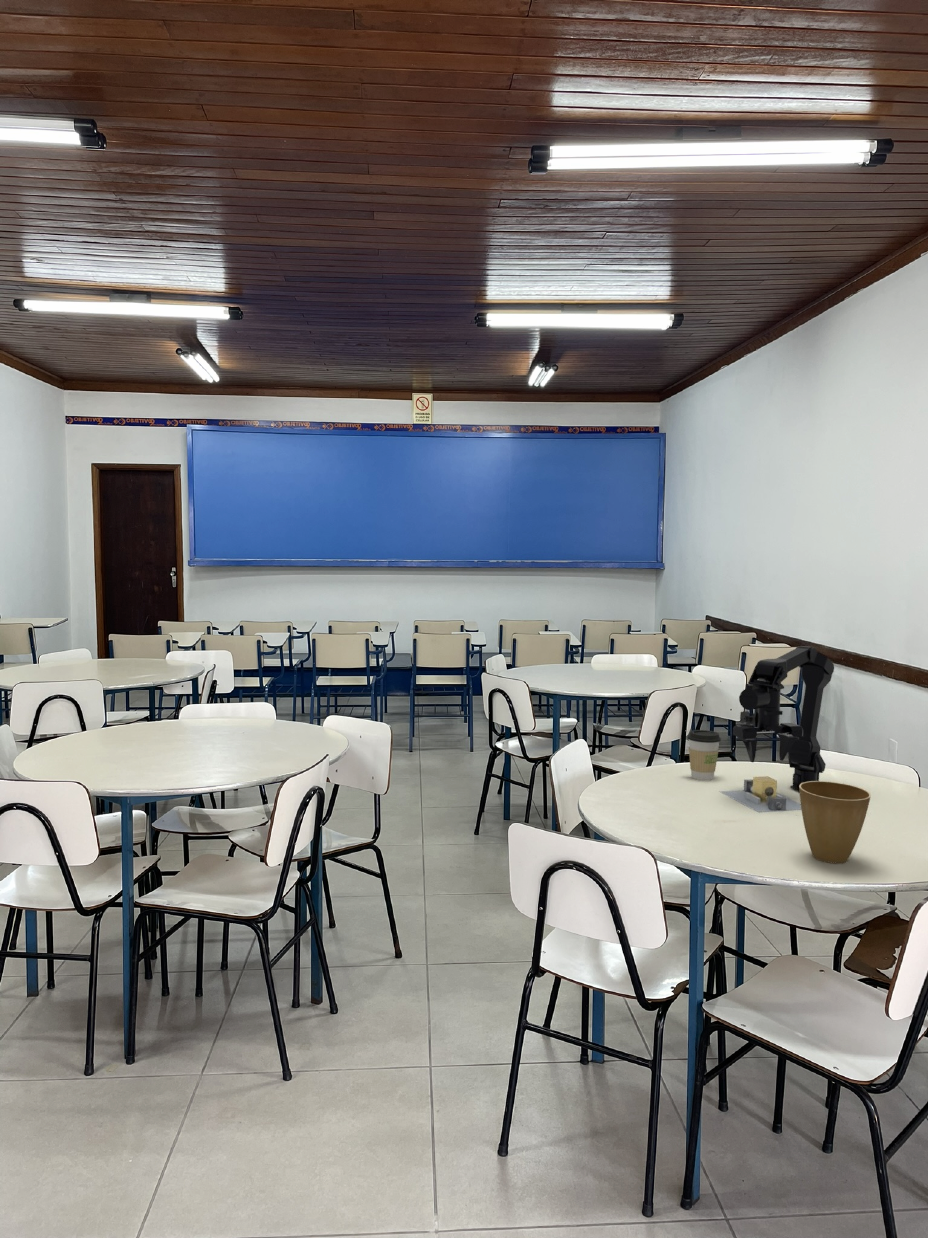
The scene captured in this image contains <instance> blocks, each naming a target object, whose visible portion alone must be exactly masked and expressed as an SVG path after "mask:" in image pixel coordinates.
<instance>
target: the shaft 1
mask: <svg viewBox="0 0 928 1238" xmlns="http://www.w3.org/2000/svg"><path fill="white" fill-rule="evenodd" d="M743 790H744V791H745V792H752V793H753V779H743Z"/></svg>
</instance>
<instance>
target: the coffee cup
mask: <svg viewBox="0 0 928 1238" xmlns="http://www.w3.org/2000/svg"><path fill="white" fill-rule="evenodd" d="M686 738H687V740H688V743H689V744H688V752H689V765H690V766H689V767H690V771H691V773H690V775H691V778H692V779H694V780H698V781H712V780H714V776H715V773H716V767H717V762H718V757H719V756H718V755H719V745H720V742H721V741H722V738H721V737H720V733H719V732H717V731H712V730H707V729H706V730H704V729H695V730H694V729H693V730H690V731H689V734H688V735H687V737H686Z"/></svg>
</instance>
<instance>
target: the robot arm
mask: <svg viewBox="0 0 928 1238" xmlns="http://www.w3.org/2000/svg"><path fill="white" fill-rule="evenodd" d="M797 668H800V669H801V678H802V680H803V682H804V684H805V686H804V687H805V689H804V695H803V702H802V706H801V714H800V720H799V724H797V723H793V722H782V723H780V716H782V715H783V710H781V709H780V708H781V691H782V690H784V689H785V686H784V685H783V684H782V682H783V681H785V679H786V678H788V673H789V672H791V671H793V670H795V669H797ZM834 670H835V664H834V663H833V661H831V658H829V657H828V656H827V655H825V654H823V653H822V652H819V651H818V650H817V649H816V648H815V647H813V646H805V645H799V646H796V647H795V649H793V650H791V651H789V652H786V653H785V654H783V655H781V656H778V657H777V658H776V657H775V658H766V659H761V660H759V661H757V663H756V664H755V667H754V669H753V671H752V672H751V675H750V678H749V680H748V682H747V684H746V685H745V688H744V689H743V690H742V691H741V692H740V694H739V696H738V701H739V703H740V706H741V707H742V708H743V709H744V711H741V712H740V713H739V714H740V715H739V720H740V723H741V724H736V725H735V726H733V728H732V736H735V737H737V739H739V740H741V741H742V742H743V744H744V746H745V749H746V753H747V755H748V758H749V761H750V763H754V762H755V760H756V759H755V758H756V753H757V745H758V739H757V738H756V737H757V736H758V735H774V734H777V736H778V739H779V754H778V755H779V760H780V761H782V762H783V761H784V760H785V758H786V756H787V758H788V764H789V768H792V769H794V770H793V771H794V772H793V774H792V785H790V786H789V787H790V788H791V789H794V790H796V791H797V792H800V791H799V785H800V784H801V783H804V782H809V781H820V774H822V773H824V771H825V770H826V762H825V761H824V759H823V757H822V754H821V745H820V744H819V741H818V739H817V733H818V726H819V722H820V721H819V719H820V713H821V707H822V700H823V695H824V694H823V693H824V689H825V688H826V686H827V685H829V683H830V682H831V680H832V676H833V673H834V672H835V671H834ZM752 710H754V712H753V713H750V711H752Z"/></svg>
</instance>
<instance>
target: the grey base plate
mask: <svg viewBox="0 0 928 1238" xmlns="http://www.w3.org/2000/svg"><path fill="white" fill-rule="evenodd" d="M718 792H719V793H721V794H723V795H725V796H727V797H729V798H730V799H733V800H734V801H736V802H738V803H740V804H742V805H744V806H745V807H747V808H750V809H751V810H753V811H754V812H757V813H773V812H789V811H792V812H794V811H802V810H801V802H797V801H795V800H793V799H791V798H790V797H787V796H785V795H783V794H781V793H778V792H776V797H785V798H786V810H770V809H769V808H768V804H767V803H766V802H765V803H761V802H760V798H758V797H756V796H754V795H753V793H752V792H745V791H744V789H743V790H725V791H721V790H720V791H718Z"/></svg>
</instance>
